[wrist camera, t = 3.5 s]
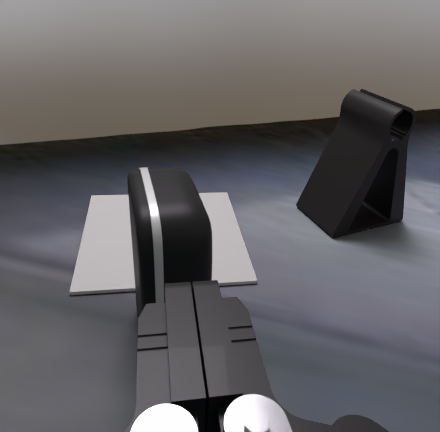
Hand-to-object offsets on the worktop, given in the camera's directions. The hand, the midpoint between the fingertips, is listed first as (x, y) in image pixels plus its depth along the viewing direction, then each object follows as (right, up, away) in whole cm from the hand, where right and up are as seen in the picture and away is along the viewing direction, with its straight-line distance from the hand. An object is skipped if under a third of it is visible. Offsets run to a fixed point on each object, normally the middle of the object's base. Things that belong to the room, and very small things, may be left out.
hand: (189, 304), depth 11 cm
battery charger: (-2, -6, +15) cm, 16 cm away
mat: (-4, +1, +24) cm, 25 cm away
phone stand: (+14, +3, +30) cm, 33 cm away
